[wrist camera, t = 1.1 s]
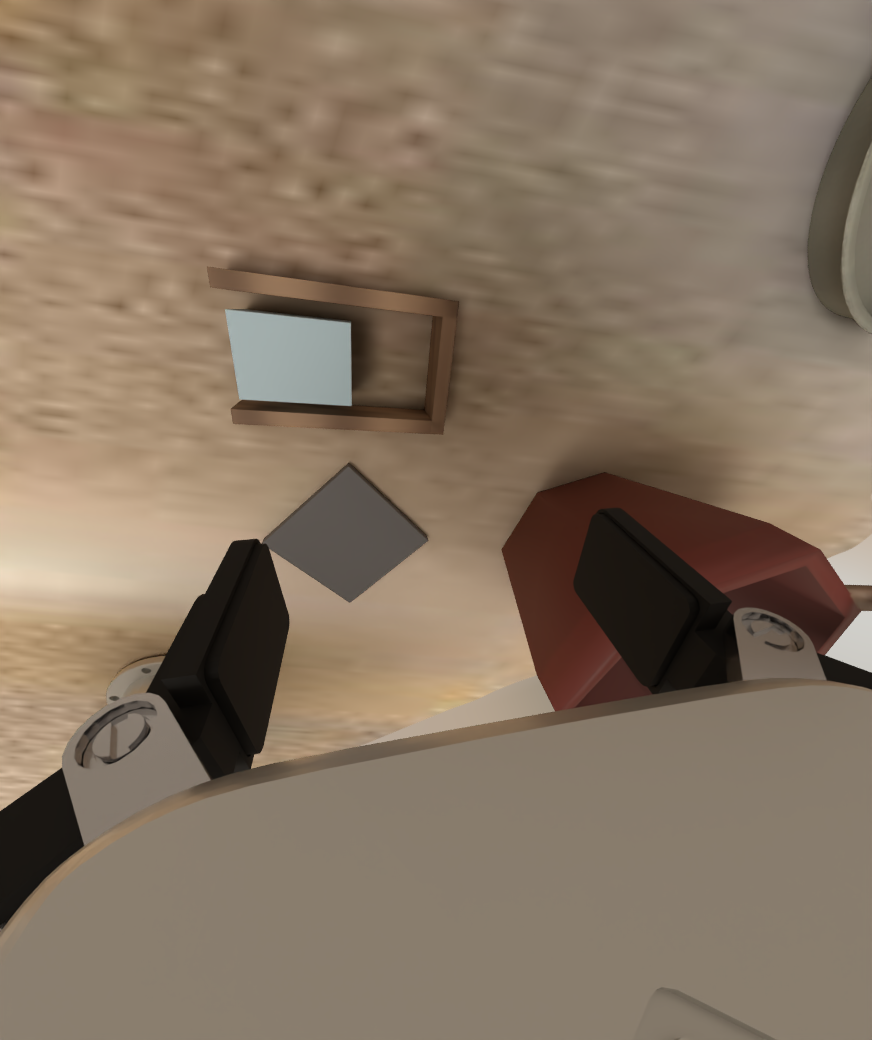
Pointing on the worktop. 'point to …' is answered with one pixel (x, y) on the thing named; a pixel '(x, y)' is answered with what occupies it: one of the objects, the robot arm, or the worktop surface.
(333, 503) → the mat
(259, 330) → the block
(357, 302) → the shelf bay
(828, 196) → the cake pan
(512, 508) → the worktop surface
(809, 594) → the bucket
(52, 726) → the worktop surface
